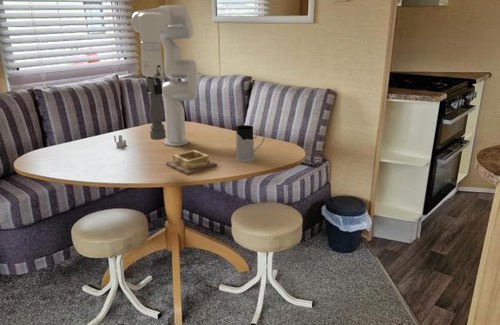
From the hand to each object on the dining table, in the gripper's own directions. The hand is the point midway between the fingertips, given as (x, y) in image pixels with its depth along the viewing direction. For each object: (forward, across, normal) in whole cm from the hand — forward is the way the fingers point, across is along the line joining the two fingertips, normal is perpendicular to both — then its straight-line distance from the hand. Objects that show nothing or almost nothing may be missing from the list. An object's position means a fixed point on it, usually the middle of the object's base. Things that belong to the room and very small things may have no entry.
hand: (154, 92), depth 168 cm
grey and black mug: (+33, +15, +38) cm, 53 cm away
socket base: (+33, +5, +12) cm, 36 cm away
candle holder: (+19, 0, 0) cm, 19 cm away
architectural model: (+34, -46, -2) cm, 58 cm away
